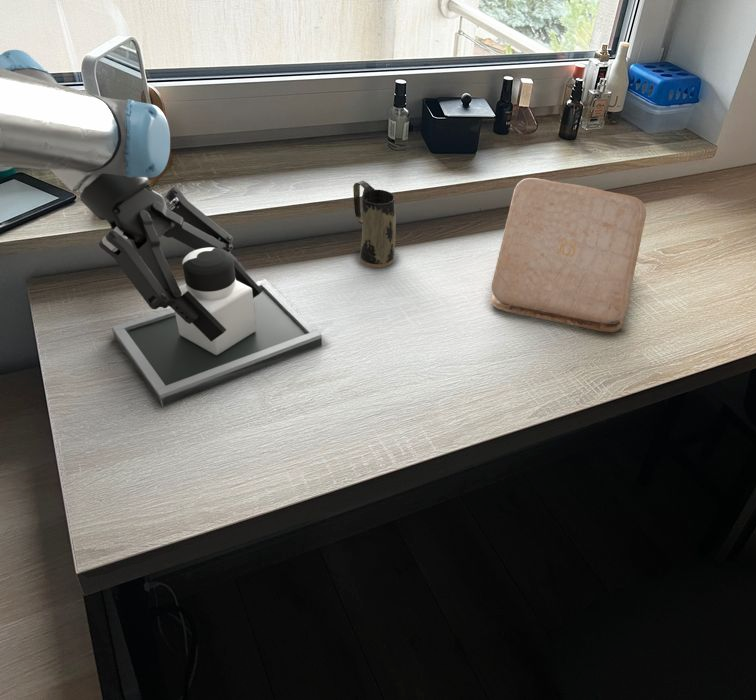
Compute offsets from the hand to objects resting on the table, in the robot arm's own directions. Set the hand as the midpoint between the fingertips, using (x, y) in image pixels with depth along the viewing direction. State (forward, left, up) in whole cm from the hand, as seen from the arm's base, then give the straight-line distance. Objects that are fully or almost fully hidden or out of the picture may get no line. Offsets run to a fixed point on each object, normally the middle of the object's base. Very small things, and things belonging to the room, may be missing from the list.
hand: (237, 315), depth 94 cm
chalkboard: (-2, +3, -5) cm, 6 cm away
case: (+48, -13, -6) cm, 50 cm away
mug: (+28, +11, -6) cm, 31 cm away
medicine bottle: (-2, +3, -4) cm, 5 cm away
